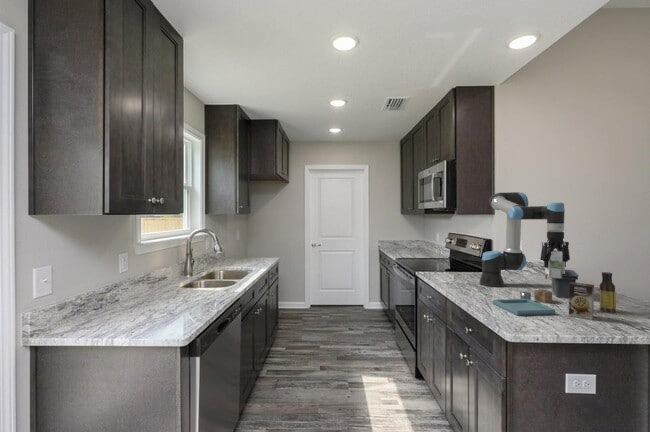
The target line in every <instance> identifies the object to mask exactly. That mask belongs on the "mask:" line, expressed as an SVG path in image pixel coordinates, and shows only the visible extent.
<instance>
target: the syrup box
mask: <svg viewBox="0 0 650 432" xmlns="http://www.w3.org/2000/svg"><path fill="white" fill-rule="evenodd" d="M549 262H550V274H548V275H547V277H548V278H549V279H552V278H558V279H562V251H557V250H556V249H554V250H553V252H551V257H550V260H549Z"/></svg>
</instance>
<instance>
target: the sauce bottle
mask: <svg viewBox="0 0 650 432" xmlns="http://www.w3.org/2000/svg"><path fill="white" fill-rule="evenodd" d="M601 276H602V277H601V278H602V279H601V282H600V283H599V287H598V288H599V293H598V294H599V310H601V311H602V312H604V311H605V312H606V313H611V312H613V313H616V310H617V300H616V299H617V297H616V296H617V295H616V286H615V285H614V283H613V273H612V272H611V271H610V272H609V271H603V272H601Z"/></svg>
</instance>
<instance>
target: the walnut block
mask: <svg viewBox="0 0 650 432" xmlns="http://www.w3.org/2000/svg"><path fill="white" fill-rule="evenodd" d="M534 302H538V303H541V304H542V303H543V304H548V303H553V291H550V290H546V289H535V290H534Z"/></svg>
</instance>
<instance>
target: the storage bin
mask: <svg viewBox="0 0 650 432" xmlns="http://www.w3.org/2000/svg"><path fill="white" fill-rule="evenodd" d="M544 277H545V280H547V279H548V274H546V273H545V276H544ZM579 277H580V275H579V274H578V273H577V272H576V271H575V270H571V269H565V274H562V279H558V278H551V288H552V289H551V290H552V293H553V294H554V296H556V298H562V299H569V284H570V283H571V282H576V283H577V281H578V280H579Z"/></svg>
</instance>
